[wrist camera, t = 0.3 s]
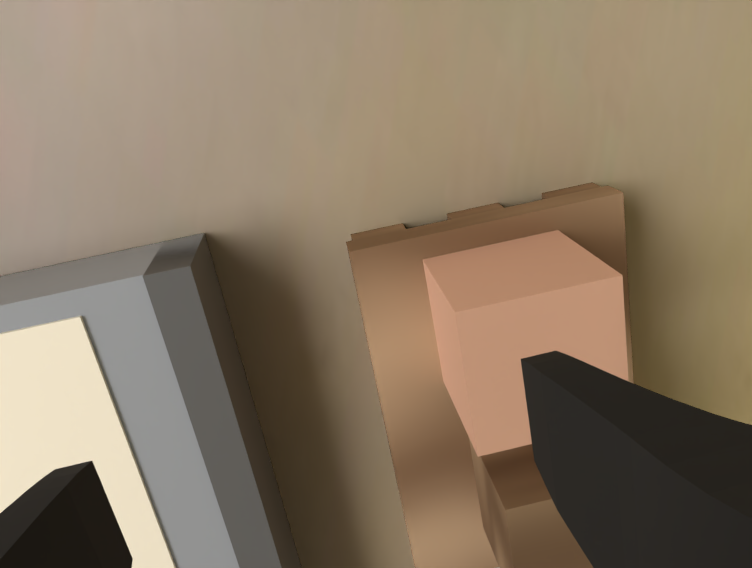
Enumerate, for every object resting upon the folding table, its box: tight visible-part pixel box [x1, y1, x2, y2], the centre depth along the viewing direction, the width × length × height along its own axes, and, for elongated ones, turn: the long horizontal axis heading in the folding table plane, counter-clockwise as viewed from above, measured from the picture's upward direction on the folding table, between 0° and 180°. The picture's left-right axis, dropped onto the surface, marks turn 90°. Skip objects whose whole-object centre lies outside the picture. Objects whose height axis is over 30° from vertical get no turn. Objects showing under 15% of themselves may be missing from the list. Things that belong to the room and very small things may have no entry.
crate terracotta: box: [423, 230, 628, 457], centre depth 18 cm, size 4×4×4 cm
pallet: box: [346, 183, 634, 568], centre depth 21 cm, size 17×8×6 cm, turn 11°
